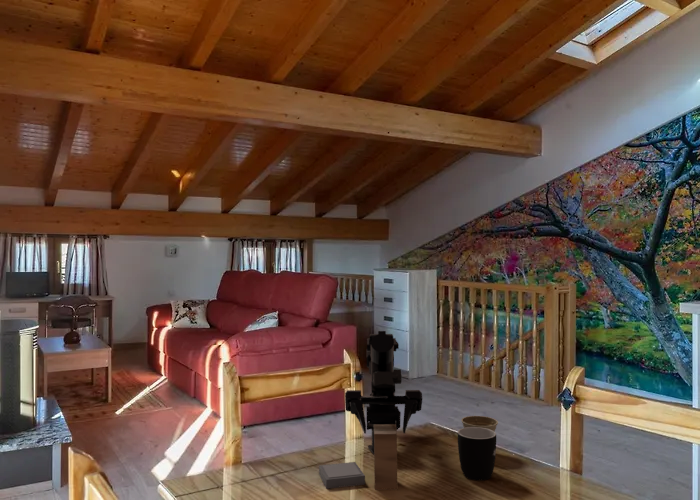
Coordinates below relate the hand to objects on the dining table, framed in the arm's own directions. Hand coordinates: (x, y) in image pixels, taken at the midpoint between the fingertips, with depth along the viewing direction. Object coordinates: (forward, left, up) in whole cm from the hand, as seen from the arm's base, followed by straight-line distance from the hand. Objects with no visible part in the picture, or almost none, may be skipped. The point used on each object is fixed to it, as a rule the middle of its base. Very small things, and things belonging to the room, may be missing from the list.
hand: (384, 432), depth 134 cm
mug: (+3, +22, -11) cm, 25 cm away
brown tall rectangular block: (+4, -1, -11) cm, 11 cm away
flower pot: (-9, +29, -11) cm, 32 cm away
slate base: (-2, -10, -11) cm, 15 cm away
